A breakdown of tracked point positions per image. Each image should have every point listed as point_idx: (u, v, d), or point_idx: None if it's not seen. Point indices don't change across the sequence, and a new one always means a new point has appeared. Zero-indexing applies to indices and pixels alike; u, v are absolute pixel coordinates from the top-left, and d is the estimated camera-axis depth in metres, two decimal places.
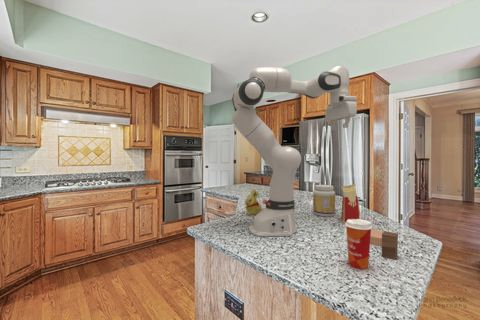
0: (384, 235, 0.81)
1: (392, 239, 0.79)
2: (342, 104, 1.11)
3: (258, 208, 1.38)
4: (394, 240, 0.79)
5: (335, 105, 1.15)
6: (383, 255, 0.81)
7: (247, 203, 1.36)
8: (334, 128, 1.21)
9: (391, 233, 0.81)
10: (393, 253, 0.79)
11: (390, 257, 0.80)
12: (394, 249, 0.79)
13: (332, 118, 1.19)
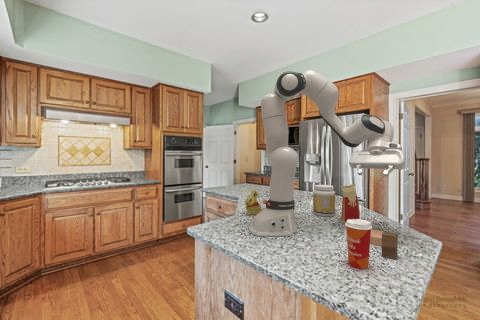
0: (384, 235, 0.81)
1: (392, 239, 0.79)
2: (391, 151, 0.96)
3: (258, 208, 1.38)
4: (394, 240, 0.79)
5: (378, 150, 0.98)
6: (383, 255, 0.81)
7: (247, 203, 1.36)
8: (361, 173, 0.98)
9: (391, 233, 0.81)
10: (393, 252, 0.79)
11: (390, 257, 0.80)
12: (394, 249, 0.79)
13: (365, 161, 0.99)
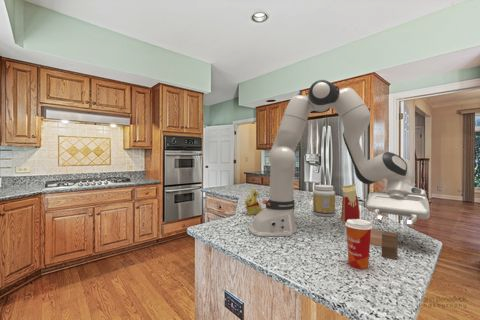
0: (384, 235, 0.81)
1: (392, 239, 0.79)
2: (414, 197, 0.87)
3: (258, 208, 1.38)
4: (394, 240, 0.79)
5: (400, 194, 0.90)
6: (383, 255, 0.81)
7: (247, 203, 1.36)
8: (381, 220, 0.89)
9: (391, 233, 0.81)
10: (393, 253, 0.79)
11: (390, 257, 0.80)
12: (394, 249, 0.79)
13: (385, 207, 0.90)
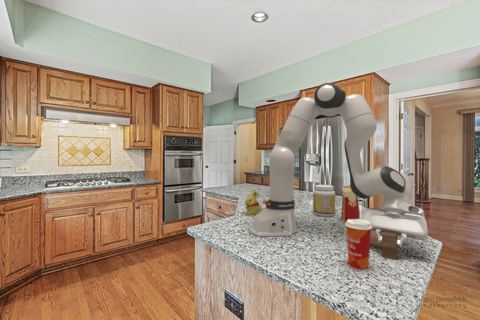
0: (384, 235, 0.81)
1: (392, 239, 0.79)
2: (411, 216, 0.82)
3: (258, 208, 1.38)
4: (394, 240, 0.79)
5: (396, 212, 0.84)
6: (383, 255, 0.81)
7: (247, 203, 1.36)
8: None
9: (391, 233, 0.81)
10: (393, 252, 0.79)
11: (390, 257, 0.80)
12: (394, 249, 0.79)
13: (381, 225, 0.85)
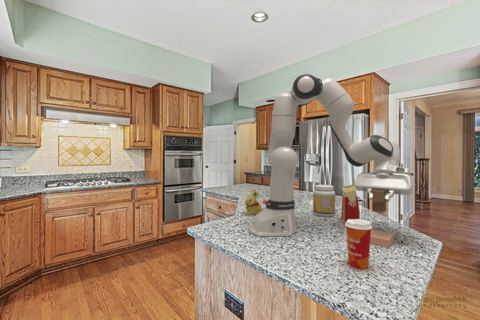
0: (374, 191, 0.93)
1: (381, 194, 0.91)
2: (398, 176, 0.93)
3: (258, 208, 1.38)
4: (382, 195, 0.91)
5: (385, 173, 0.96)
6: (374, 210, 0.93)
7: (247, 203, 1.36)
8: None
9: (380, 190, 0.93)
10: (382, 206, 0.91)
11: (379, 210, 0.91)
12: (382, 203, 0.91)
13: (372, 185, 0.97)
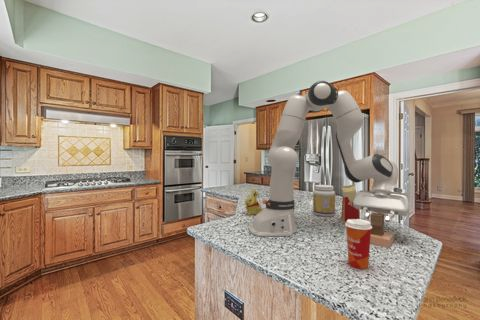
0: (372, 215, 0.95)
1: (379, 218, 0.93)
2: (396, 196, 0.96)
3: (258, 208, 1.38)
4: (380, 219, 0.93)
5: (383, 193, 0.99)
6: (372, 233, 0.95)
7: (247, 203, 1.36)
8: (368, 217, 0.98)
9: (378, 214, 0.96)
10: (380, 230, 0.93)
11: (377, 234, 0.94)
12: (380, 227, 0.93)
13: (370, 205, 0.99)
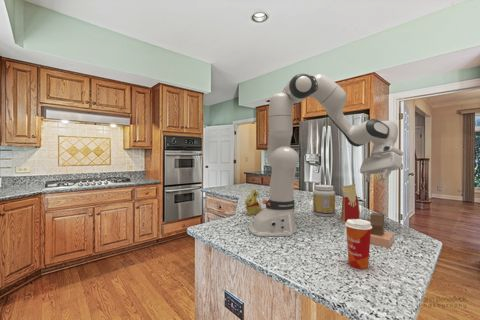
0: (372, 215, 0.95)
1: (379, 218, 0.93)
2: (386, 154, 1.03)
3: (258, 208, 1.38)
4: (380, 219, 0.93)
5: (377, 155, 1.08)
6: (372, 233, 0.95)
7: (247, 203, 1.36)
8: (368, 180, 1.10)
9: (378, 214, 0.96)
10: (380, 230, 0.93)
11: (377, 234, 0.94)
12: (380, 227, 0.93)
13: (369, 168, 1.10)
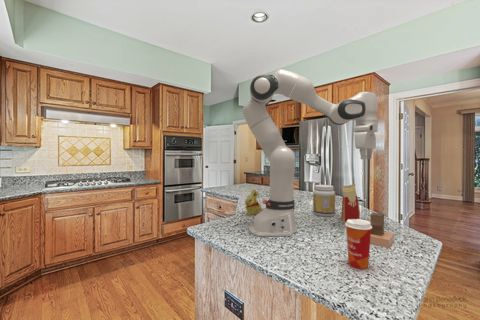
0: (372, 215, 0.95)
1: (379, 218, 0.93)
2: None
3: (258, 208, 1.38)
4: (380, 219, 0.93)
5: None
6: (372, 233, 0.95)
7: (247, 203, 1.36)
8: (368, 157, 1.10)
9: (378, 214, 0.96)
10: (380, 230, 0.93)
11: (377, 234, 0.94)
12: (380, 227, 0.93)
13: None
